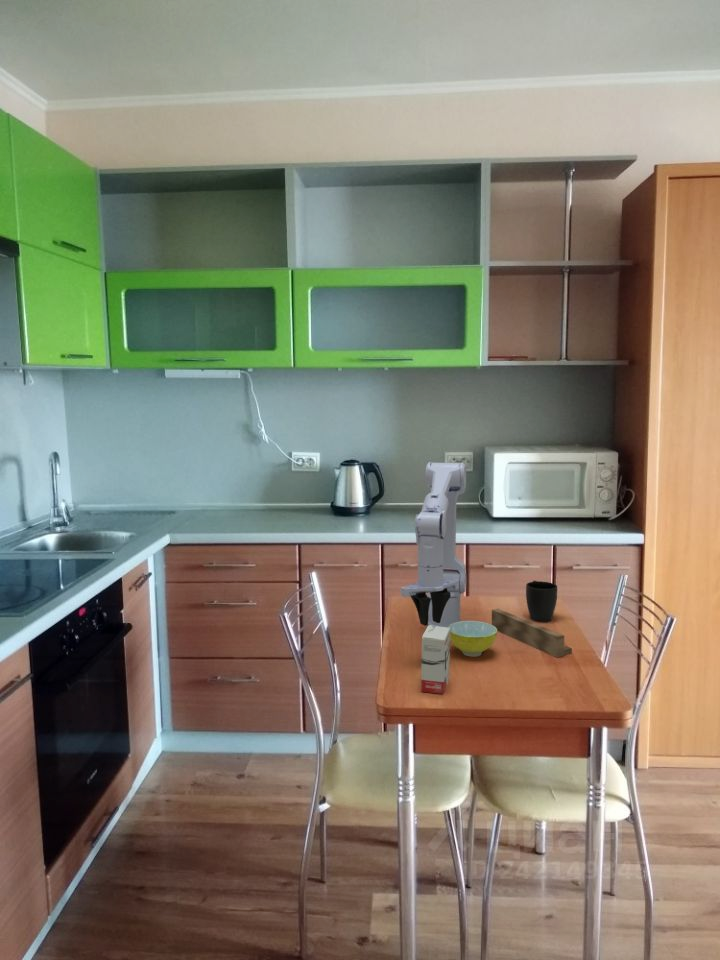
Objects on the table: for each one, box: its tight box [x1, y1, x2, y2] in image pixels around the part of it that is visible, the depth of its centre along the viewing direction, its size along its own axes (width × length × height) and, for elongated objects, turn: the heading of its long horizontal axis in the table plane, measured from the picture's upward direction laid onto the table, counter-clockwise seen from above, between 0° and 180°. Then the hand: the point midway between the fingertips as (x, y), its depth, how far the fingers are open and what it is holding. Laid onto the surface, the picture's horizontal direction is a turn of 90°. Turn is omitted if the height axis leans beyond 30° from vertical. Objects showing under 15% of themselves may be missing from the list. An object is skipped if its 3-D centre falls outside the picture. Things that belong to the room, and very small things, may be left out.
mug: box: [525, 580, 558, 623], centre depth 191 cm, size 8×12×10 cm
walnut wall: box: [491, 608, 573, 659], centre depth 173 cm, size 24×5×5 cm, turn 28°
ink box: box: [420, 625, 451, 695], centre depth 146 cm, size 8×5×12 cm, turn 165°
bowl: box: [448, 620, 498, 658], centre depth 165 cm, size 11×12×6 cm
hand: (430, 623), depth 158 cm, fingers open, 3 cm apart
